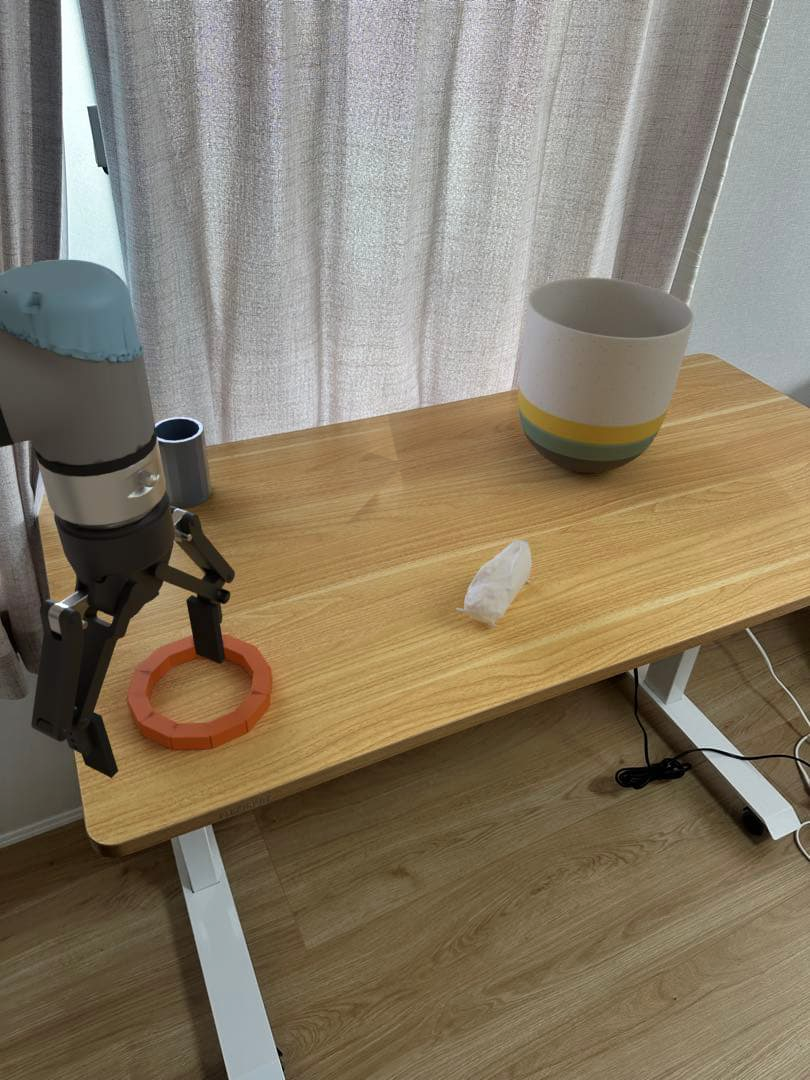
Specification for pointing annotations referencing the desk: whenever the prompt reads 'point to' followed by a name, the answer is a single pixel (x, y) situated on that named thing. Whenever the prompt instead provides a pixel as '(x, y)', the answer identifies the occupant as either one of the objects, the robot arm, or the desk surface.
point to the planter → (599, 369)
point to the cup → (184, 461)
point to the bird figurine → (498, 583)
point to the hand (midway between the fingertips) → (160, 708)
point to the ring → (199, 733)
